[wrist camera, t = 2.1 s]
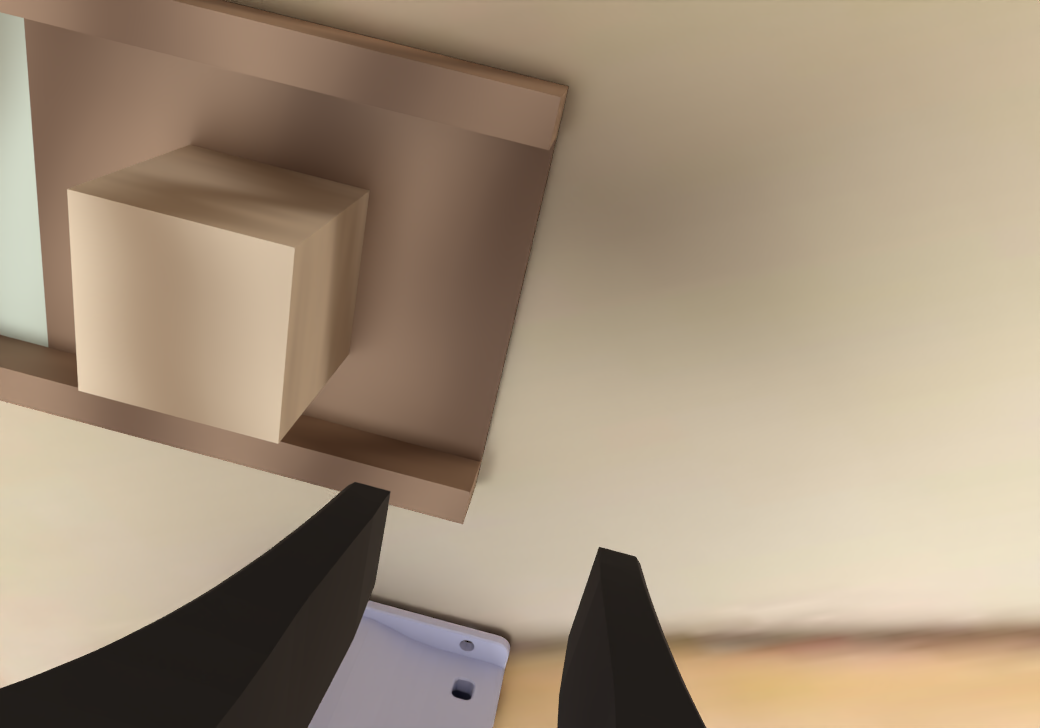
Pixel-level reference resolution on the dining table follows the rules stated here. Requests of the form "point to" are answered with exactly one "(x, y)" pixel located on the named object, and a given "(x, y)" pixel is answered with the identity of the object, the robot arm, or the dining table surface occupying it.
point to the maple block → (214, 287)
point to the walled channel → (305, 149)
